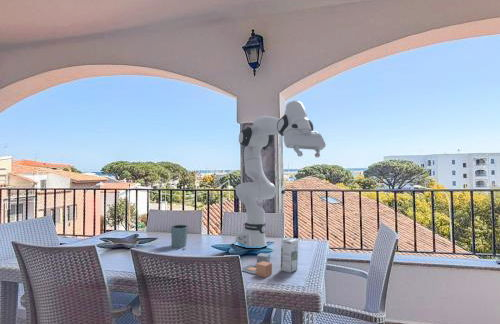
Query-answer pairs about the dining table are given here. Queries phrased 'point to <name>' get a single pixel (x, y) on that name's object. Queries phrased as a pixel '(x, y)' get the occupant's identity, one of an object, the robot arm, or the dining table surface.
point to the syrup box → (289, 255)
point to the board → (250, 269)
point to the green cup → (179, 236)
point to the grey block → (263, 257)
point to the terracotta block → (264, 269)
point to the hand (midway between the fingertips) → (309, 156)
